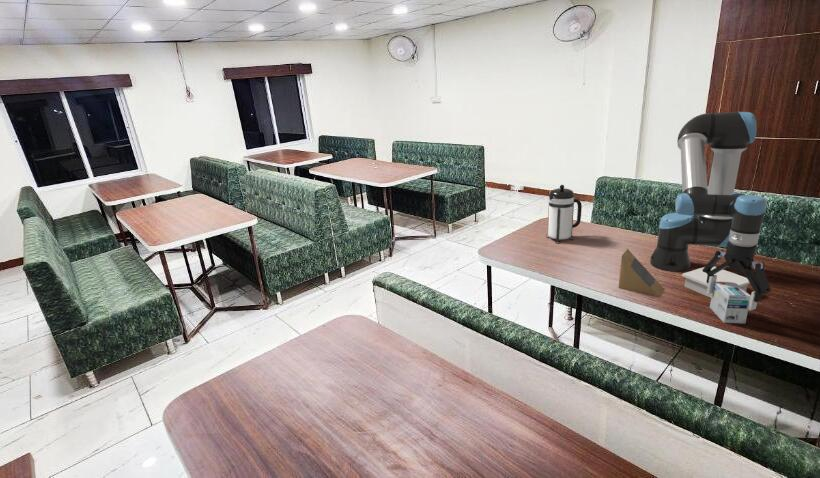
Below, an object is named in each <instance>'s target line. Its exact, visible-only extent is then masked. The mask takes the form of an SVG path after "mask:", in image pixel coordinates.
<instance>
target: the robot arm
mask: <svg viewBox="0 0 820 478" xmlns="http://www.w3.org/2000/svg"><path fill="white" fill-rule="evenodd" d="M757 128H758V127H757V120H756V116H755V114H754V113H753V112H749V111H732V112H730V111H729V112H715V113H714V112H712V113H709V112H708V113H702V114H701V113H700V114H699V115H696V116H695V117H692V118H691V119H690V120H688V121H687V122H686V123H685V124H684V125H683V126H682V128H681V129H680V131H679V133H678V135H677V148H678V149H679V151H680V159H681V160H680V164H681V186H682V187H681V192H682V193H678V194H677V196H676V199H675V208H674V209H675V212H670V213H667V214H665V215H663V216H662V217H660V223H659V225H658V228H659V229H658V235H657V240H656V241H657V244H656V247H655V249H654V251H653V253H652V255H651V256H650V260H649V261H650V262H649V263H650V265H651V266H652V267H654V268H656V269H660V270H663V271H669V272H684V271H687V270H689V269H690V267H691V260H690V259H691V258H690V255H689V245H690V246H691V245H692V246H705V247H714V248H718V247H719V248H720V247H723V248H725V247H726V249H725V251H726V252H725V251H724V250H723V249H718V250H717V251H715V253H714V256H713V257H712V259H710V261H709V262H708V263H707V264H706V265H705V266H704V268H703V267H702V268H703V270H702V271H703V272H705V273H707V275H708V276H707V281H706V282H707V283H708V288H707V293H708V294H710V293H713V288H714V282H716V279H717V275H714V274H716V273H717V272H719V271H721V270H725V269H726V268H727V267H729V269H732V270H736V271H738V272H742V274H743V275H744V277H746V278H747V279H748V281H749V283H750V284H749V285H750V286H751V288H752V289H753V291H751V294H750V295H751V298H750V302H749V306H748V311H750V312H751V311H753V310H756V309H757V305H758V302H759V303H760V302H761V300H762V297H763V295H766V294H769V293H771V291H772V290H771V287H770V283H769V280H768V277H767V273H766V271H765V262H763V261H761V262H757V261H755V260H754V257H755V255H756V252H757V245H758V244H759V243H758V242H759V238H760V233H761V229H762V224H763V220H764V216H765V213H766V210H767V207H766V206H767V200H766V198H765V197H762V196H759V195H753V194H745V193H743V192H735V189H736V183H737V177H738V171H739V166H740V161H741V156H742V153H743V152H744V151H746V150H747V149H748V147H749V146H748V145H749V144H753V143H754V141H755V140H756V136H757ZM708 144H709V145H710V149H711V151H712V152H713V158H712V162H711V169H710V173H709V174H710V175H709V181H708V178H707V177H708V176H707V163H706V152H705V149H706V148H705V147H706V146H707V145H708ZM695 216H698V217H695ZM722 258H724V259H725V261H724V262H723V263H721V264H720V265H718V266H716V264H718V262H719V261H721V259H722ZM714 266H715V267H716V268H715V269H713V270H711V269H712V268H713V267H714ZM752 266H753V267H752ZM754 270H755V271H754Z"/></svg>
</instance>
